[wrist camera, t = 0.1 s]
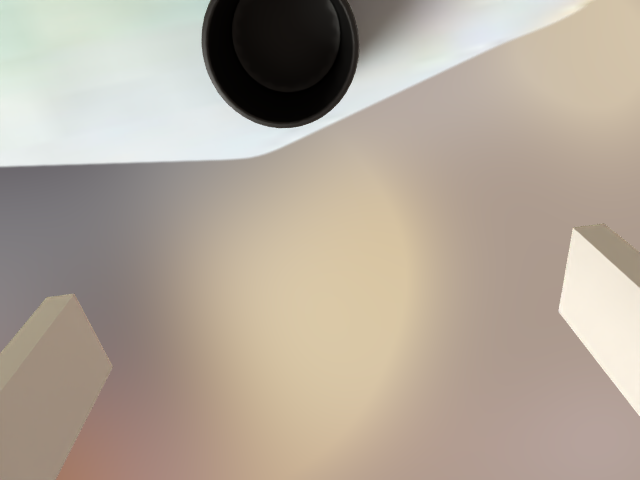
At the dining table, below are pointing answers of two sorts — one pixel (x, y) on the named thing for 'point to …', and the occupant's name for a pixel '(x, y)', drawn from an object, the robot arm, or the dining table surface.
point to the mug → (280, 57)
